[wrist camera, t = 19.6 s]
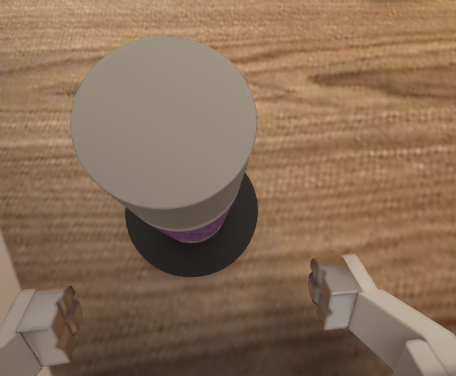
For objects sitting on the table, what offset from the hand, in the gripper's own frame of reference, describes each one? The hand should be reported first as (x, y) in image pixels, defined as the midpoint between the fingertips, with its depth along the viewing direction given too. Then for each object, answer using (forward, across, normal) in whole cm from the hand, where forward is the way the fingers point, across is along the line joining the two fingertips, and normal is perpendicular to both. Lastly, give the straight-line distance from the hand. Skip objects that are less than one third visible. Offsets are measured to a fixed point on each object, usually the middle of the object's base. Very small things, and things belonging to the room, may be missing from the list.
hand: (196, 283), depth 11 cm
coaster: (+11, 0, +5) cm, 12 cm away
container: (+11, 0, +5) cm, 12 cm away
